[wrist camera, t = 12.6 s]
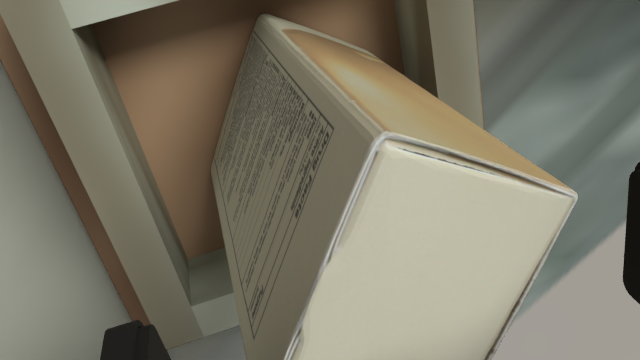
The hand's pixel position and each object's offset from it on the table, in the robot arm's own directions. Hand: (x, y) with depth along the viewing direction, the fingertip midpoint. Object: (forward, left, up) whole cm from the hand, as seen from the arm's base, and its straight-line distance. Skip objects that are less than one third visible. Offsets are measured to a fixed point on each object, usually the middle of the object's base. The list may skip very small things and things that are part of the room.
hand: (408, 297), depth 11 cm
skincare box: (0, 0, -12) cm, 12 cm away
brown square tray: (+1, 0, -13) cm, 13 cm away
